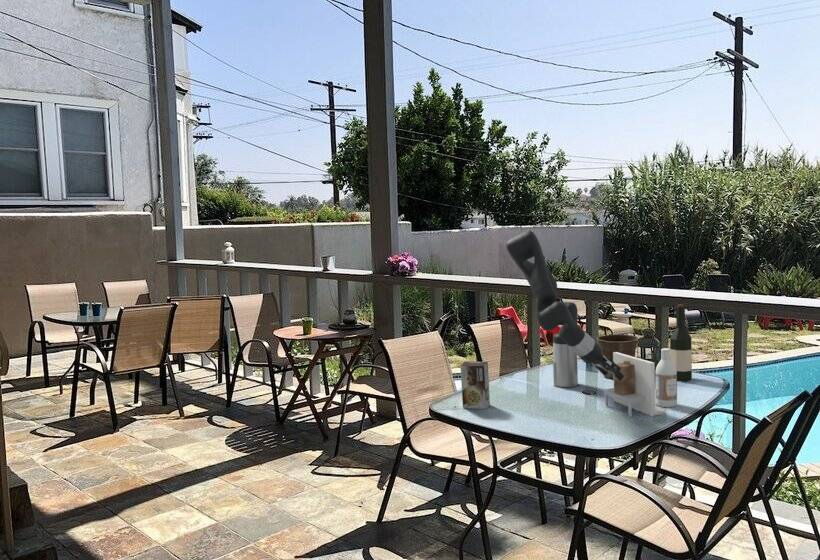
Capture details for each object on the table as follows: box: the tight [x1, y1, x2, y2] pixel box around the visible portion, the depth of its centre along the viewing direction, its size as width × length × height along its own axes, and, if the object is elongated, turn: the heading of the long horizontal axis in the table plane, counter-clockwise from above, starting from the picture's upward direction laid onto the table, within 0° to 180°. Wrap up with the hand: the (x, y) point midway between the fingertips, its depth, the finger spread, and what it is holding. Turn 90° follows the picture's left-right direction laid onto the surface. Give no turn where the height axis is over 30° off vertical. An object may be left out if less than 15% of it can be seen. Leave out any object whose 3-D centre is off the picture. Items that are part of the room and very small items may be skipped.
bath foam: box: [655, 347, 678, 408], centre depth 238 cm, size 7×7×20 cm
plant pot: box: [596, 334, 639, 380], centre depth 280 cm, size 16×16×16 cm
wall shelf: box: [603, 352, 666, 417], centre depth 237 cm, size 12×20×18 cm, turn 20°
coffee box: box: [459, 361, 491, 410], centre depth 249 cm, size 9×6×16 cm
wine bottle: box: [669, 304, 693, 383], centre depth 270 cm, size 8×8×30 cm
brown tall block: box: [613, 360, 635, 395], centre depth 235 cm, size 5×5×11 cm
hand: (614, 375), depth 233 cm, fingers open, 8 cm apart
